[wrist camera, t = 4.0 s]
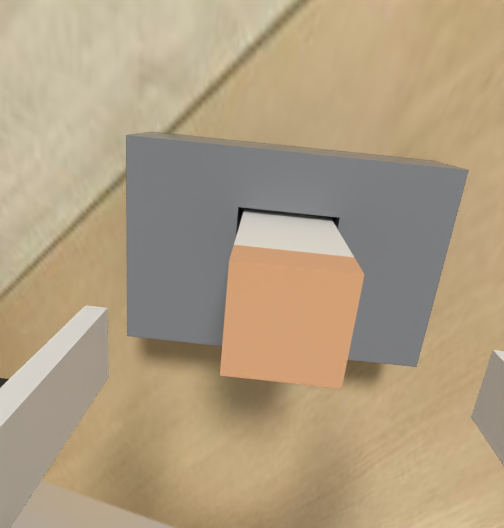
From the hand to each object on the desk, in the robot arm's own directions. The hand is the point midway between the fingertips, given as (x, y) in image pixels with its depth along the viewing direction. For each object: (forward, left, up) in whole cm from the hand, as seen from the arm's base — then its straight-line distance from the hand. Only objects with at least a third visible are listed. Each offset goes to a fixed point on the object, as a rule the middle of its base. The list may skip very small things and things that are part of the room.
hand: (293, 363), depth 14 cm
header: (0, 0, -15) cm, 15 cm away
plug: (0, 0, -14) cm, 14 cm away
